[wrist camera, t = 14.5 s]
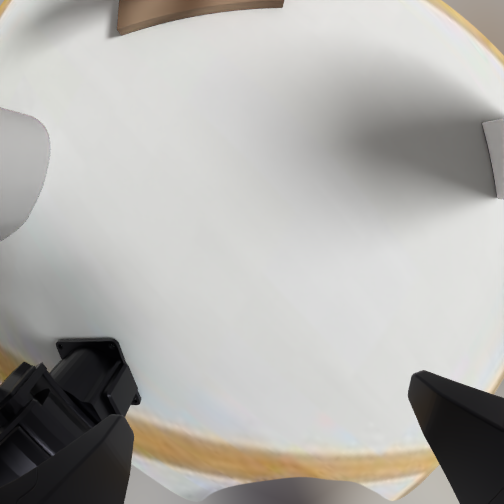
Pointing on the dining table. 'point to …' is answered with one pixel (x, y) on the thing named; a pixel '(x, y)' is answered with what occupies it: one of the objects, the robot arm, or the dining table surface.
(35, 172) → the lumpy-topped squat cylinder
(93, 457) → the robot arm
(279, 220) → the dining table surface
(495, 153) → the milk carton
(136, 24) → the walnut board
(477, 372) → the dining table surface
